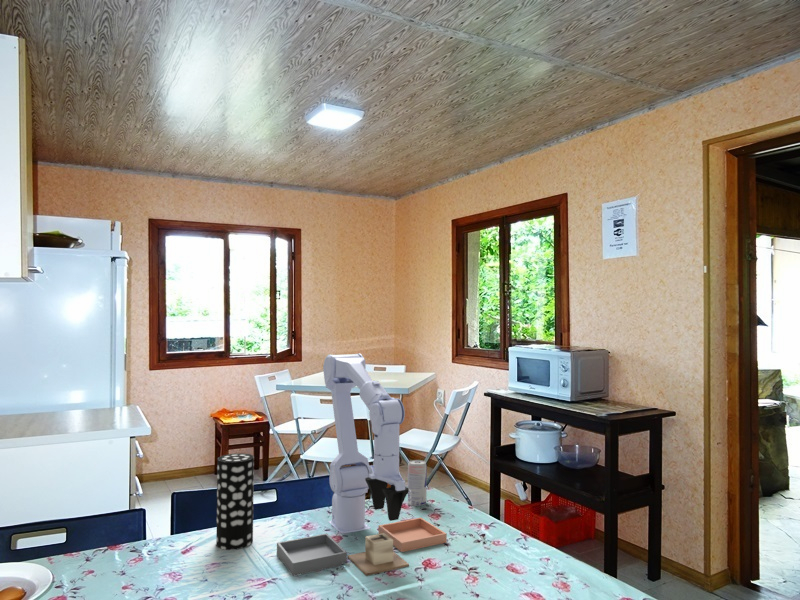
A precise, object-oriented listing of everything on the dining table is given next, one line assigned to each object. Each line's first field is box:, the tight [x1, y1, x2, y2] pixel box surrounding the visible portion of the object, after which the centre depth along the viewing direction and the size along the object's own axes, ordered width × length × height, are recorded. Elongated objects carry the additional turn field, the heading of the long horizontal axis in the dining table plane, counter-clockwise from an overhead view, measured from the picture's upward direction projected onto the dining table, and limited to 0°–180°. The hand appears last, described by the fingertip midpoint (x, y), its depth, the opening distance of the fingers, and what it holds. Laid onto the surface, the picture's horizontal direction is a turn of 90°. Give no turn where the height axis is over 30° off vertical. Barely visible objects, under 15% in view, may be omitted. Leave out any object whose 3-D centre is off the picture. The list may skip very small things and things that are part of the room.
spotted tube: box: [215, 452, 255, 551], centre depth 135 cm, size 8×8×20 cm
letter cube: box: [364, 533, 394, 565], centre depth 123 cm, size 4×4×5 cm
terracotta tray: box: [378, 517, 447, 553], centre depth 136 cm, size 12×12×3 cm
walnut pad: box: [347, 550, 410, 577], centre depth 123 cm, size 10×10×1 cm
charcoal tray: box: [276, 533, 348, 577], centre depth 126 cm, size 12×12×3 cm
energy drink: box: [407, 459, 428, 507], centre depth 163 cm, size 5×5×12 cm
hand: (386, 514), depth 128 cm, fingers open, 7 cm apart
